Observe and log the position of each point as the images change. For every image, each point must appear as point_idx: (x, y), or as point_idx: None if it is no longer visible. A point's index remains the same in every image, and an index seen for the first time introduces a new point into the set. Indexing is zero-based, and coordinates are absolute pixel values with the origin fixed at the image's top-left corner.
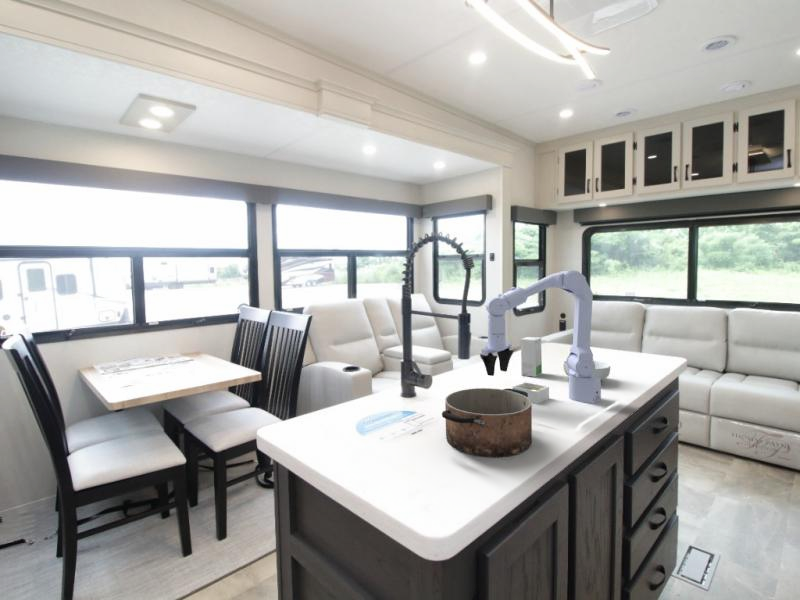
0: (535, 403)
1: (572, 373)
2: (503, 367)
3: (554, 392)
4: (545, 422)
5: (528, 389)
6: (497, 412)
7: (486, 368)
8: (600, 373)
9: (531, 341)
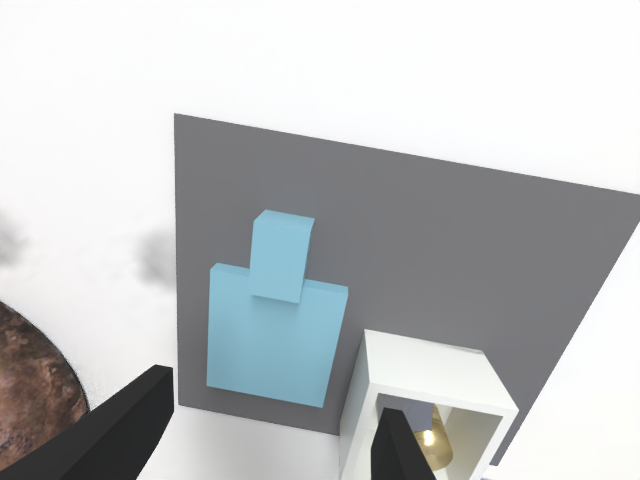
0: (340, 424)
1: None
2: (380, 473)
3: (583, 432)
4: (203, 465)
5: (412, 427)
6: (23, 410)
7: (89, 421)
8: None
9: None
